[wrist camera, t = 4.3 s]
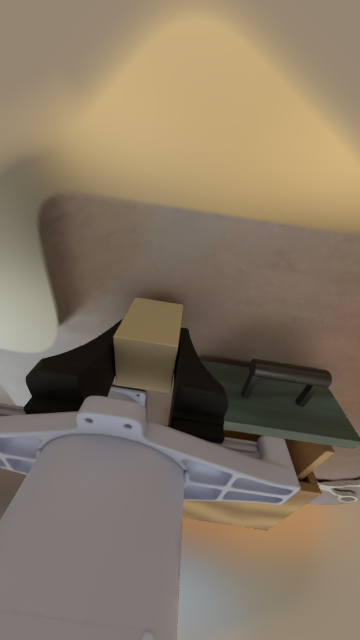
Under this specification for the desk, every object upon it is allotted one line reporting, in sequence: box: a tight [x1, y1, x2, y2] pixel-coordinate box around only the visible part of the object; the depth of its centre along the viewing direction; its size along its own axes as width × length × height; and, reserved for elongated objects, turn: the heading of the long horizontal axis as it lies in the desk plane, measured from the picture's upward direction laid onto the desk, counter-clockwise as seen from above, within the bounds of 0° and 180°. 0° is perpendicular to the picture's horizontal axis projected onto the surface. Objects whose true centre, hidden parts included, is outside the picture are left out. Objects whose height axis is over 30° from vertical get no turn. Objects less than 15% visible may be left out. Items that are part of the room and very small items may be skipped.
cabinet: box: [183, 471, 322, 530], centre depth 27 cm, size 15×14×8 cm
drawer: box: [201, 359, 360, 481], centre depth 21 cm, size 18×13×6 cm
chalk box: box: [113, 297, 183, 393], centre depth 15 cm, size 4×4×5 cm
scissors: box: [317, 479, 360, 502], centre depth 36 cm, size 11×1×20 cm
